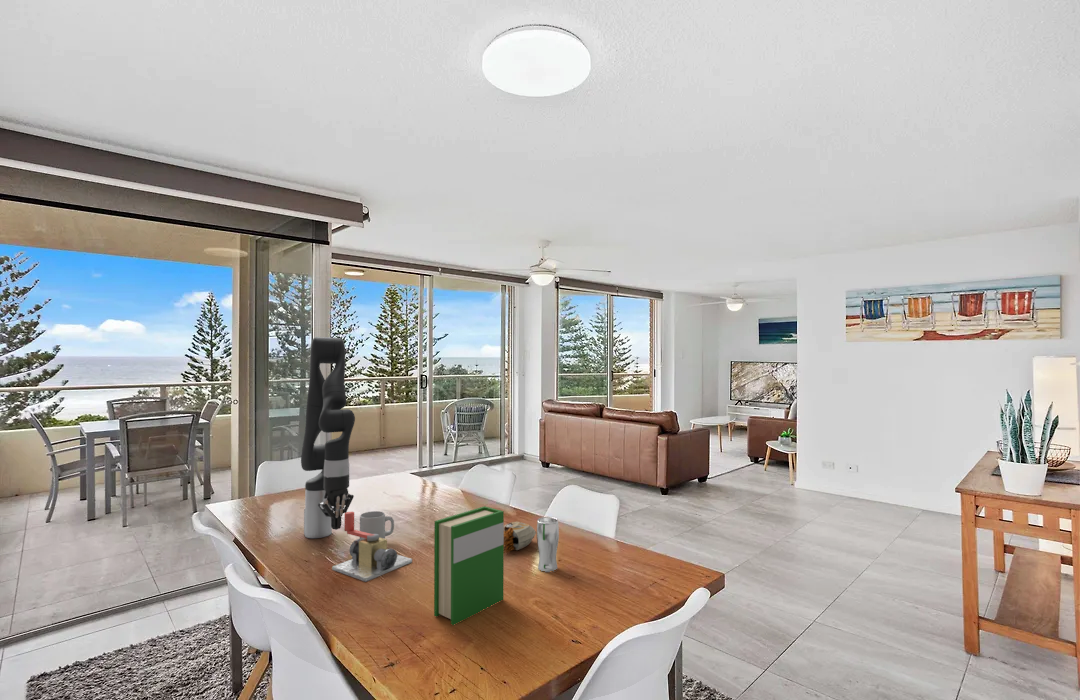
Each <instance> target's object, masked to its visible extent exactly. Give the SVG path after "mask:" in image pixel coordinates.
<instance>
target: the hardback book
mask: <svg viewBox="0 0 1080 700" xmlns="http://www.w3.org/2000/svg"><path fill="white" fill-rule="evenodd" d="M504 517H505V516H504V510H500V509H497V508H492V507H489V506H486V505H485V506H482V507H478V508H477V507H476V508H474V509H471V510H467V511H463V512H460V513H456V514H455V515H451V516H447V517H444V518H443V517H442V518H441V519H437V520H434V529H433V530H434V534H433V535H434V536H433V537H434V546H433V547H434V548H433V549H434V551H433V552H434V553H433V555H434V562H433V563H434V564H433V565H434V567H433V568H434V569H433V571H434V572H433V574H434V575H433V576H434V577H433V579H434V580H433V582H434V583H433V585H434V586H433V587H434V588H433V589H434V591H433V592H434V593H433V596H434V597H433V598H434V599H433V603H434V604H433V615H434V617H435V616H436V617H435V618H438V617H439V615H440V616H443V617H445V618H448V619H450V625H451V624H452V626H455V625H457V624H459V623H461V622H463V621H465V620H467V619H469V618H471V617H472V615H473V616H474V614H475V615H476V613H477V614H479V613H481V612H483V611H484V610H483V609H485V610H487V609H488V608H487V607H489V608H491V607H492V606H491V605H493V604H495V603H497V602H499V601H501V600H503V601H504V573H505V572H504V559H505V558H504V555H505V552H504V551H505V550H504V549H505V545H504V525H505V524H504V523H505V521H504V519H505V518H504ZM501 602H502V601H501ZM499 603H500V602H499ZM497 604H498V603H497ZM495 605H496V604H495ZM490 606H491V607H490ZM493 606H494V605H493ZM486 608H487V609H486ZM482 610H483V611H482ZM480 611H481V612H480ZM478 612H479V613H478ZM437 616H438V617H437ZM470 616H471V617H470ZM468 617H469V618H468ZM466 618H467V619H466ZM464 619H465V620H464ZM462 620H463V621H462ZM460 621H461V622H460ZM458 622H459V623H458ZM456 623H457V624H456ZM454 624H455V625H454Z"/></svg>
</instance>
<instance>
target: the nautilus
mask: <svg viewBox="0 0 1080 700" xmlns="http://www.w3.org/2000/svg"><path fill="white" fill-rule="evenodd" d="M536 535H537V530H535V528H534V527H533V526H531V525H530V524H529V523H524V522H521V521H511V522H509V523H506V524H504V554H506V555H508V554H509V553H510V552H511V551H512V552H513V550H516V551H518V550H521V549H523V548H525V547H527V546H528V545H529V544H531V542H532V541H533V540H534V538H535V536H536Z"/></svg>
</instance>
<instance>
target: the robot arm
mask: <svg viewBox="0 0 1080 700" xmlns="http://www.w3.org/2000/svg"><path fill="white" fill-rule="evenodd" d="M345 345H346V344H345V342H344V339H342V338H341V337H340V338H339V337H327V336H325V337H324V336H316V337H313V339H312V340H311V343H310V352H309V353H310V354H309V382H308V389H307V398H306V399H307V400H306V410H305V413H306V414H305V426H304V427H305V429H304V436H303V441H302V447H301V448H302V449H301V455H300V464H301V465H300V466H301V468H302V470H303V471H304V472H311V471H313V472H314V471H320V472H319V473H318V474H317V475H316V476H314V477H312V478H309V479H307V480H306V482H305V486H304V488H305V491H304V493H305V494H304V496H305V498H304V499H305V501H304V502H305V503H304V505H305V506H304V510H303V535H304V537H305V538H307V539H321V538H326V537H329V536H331V534H333V532H332V531H333V530H335V531H336V530H339V529H341V527H342V516H343V514H345V513H346V512H348V510H349V507H350V505H351V503H352V501H353V499H354V497H355V496H354V495H353V494H350V493H349V489H348V488H349V487H350V458H349V457H350V456H349V454H350V453H349V452H350V451H349V449H350V439H351V436H352V431H353V429H354V426H355V422H356V416H355V413H354V412H353V410H351V409H349V408H346V409H345V406H346V405H347V395H346V387H345V386H346V385H345V375H346V346H345ZM321 364H330V365H331V364H332V365H333V364H334V365H335V366H334V368H333V369H332V371H331V372H330V373H329V375H327V377H326V378H325V377H324V375H323V373H322V371H321ZM321 432H323V433H327V434H328V433H341V432H342V433H341V434H340V435H339V437H336V438H334V439H329V440H328V441H325V443H324V444H315V443H316V440H317V438H318V436H319V435H320V434H321Z"/></svg>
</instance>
